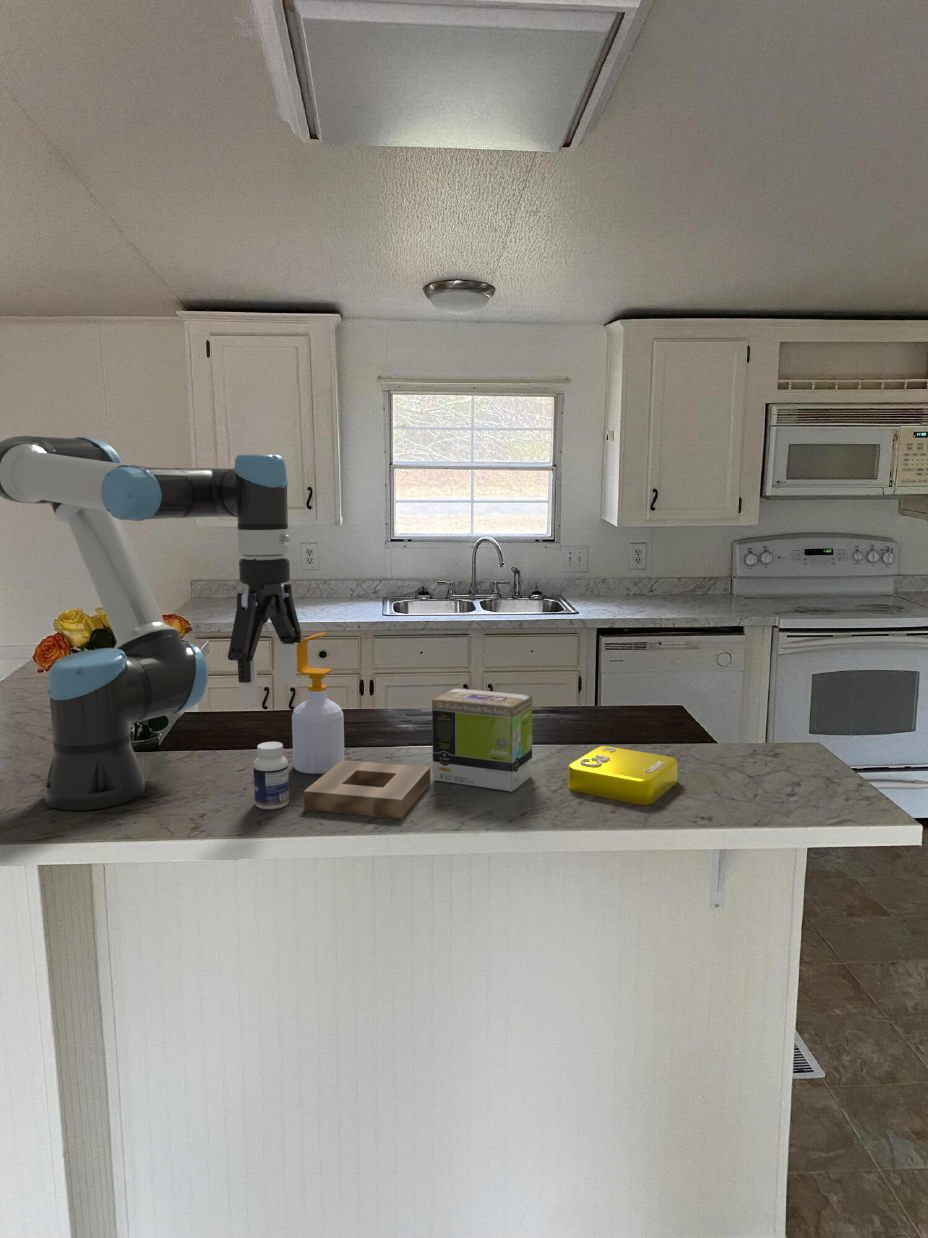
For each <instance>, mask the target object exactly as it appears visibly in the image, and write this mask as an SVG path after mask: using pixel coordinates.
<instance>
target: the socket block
mask: <svg viewBox="0 0 928 1238" xmlns="http://www.w3.org/2000/svg"><path fill="white" fill-rule="evenodd" d="M430 785H431V766H420V765H409V764H395V763H387V762H386V763H385V762H384V763H382V762H373V761H372V762H371V761H358V760H345V759H344V760H341V761H340V762H339V763H338V764H336V765H335V766H334V767H333V768H331V769H330V770H329V771H328V772H327V773H325V774H322V776H320V777H319V778H318V779H317V780H315V781H314V782H313V783H312V784H310V785H309V786H308V787H307V788H305V790H303V798H304V799H303V802H304V803H303V804H304V810H306V811H307V810H308V811H319V812H328V813H341V814H348V815H349V814H350V815H359V816H372V817H383V818H393V819H403V818H404V816H406V814H407V813H408V812H409V810H410V809H411V808H412V807H413V806H414V804H416V802H417V801H418V800H419V798H421V796H422V795H423V793H424V792H425V791H426V790H427V789H428V787H429V786H430Z"/></svg>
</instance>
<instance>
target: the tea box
mask: <svg viewBox="0 0 928 1238" xmlns="http://www.w3.org/2000/svg"><path fill="white" fill-rule="evenodd" d="M431 713H432V714H431V718H432V719H431V721H432V722H431V726H432V729H431V730H432V734H431V735H432V741H431V742H432V774H433V775H432V779H433V781H438V782H444V783H452V784H457V785H464V786H465V785H466V786H473V787H479V788H487V789H490V790H499V791H505V792H511V793H513V792H514V791H515V790H516V789H518V788H519V787H520V786H521V785H523V784H524V783H525V782H526V781H527V780H528V779H530V778H531V777H532V774H533V773H532V772H533V695H532V694H526V693H514V692H513V693H512V692H503V691H502V692H501V691H493V690H490V691H489V690H482V689H481V690H480V689H467V688H460V687H458V688H457V687H456V688H453V689H452V690H449V691H447V692H445V693H442V694H440V695H438V696H436V697H434V698H432V700H431Z"/></svg>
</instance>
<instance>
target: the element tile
mask: <svg viewBox="0 0 928 1238" xmlns="http://www.w3.org/2000/svg"><path fill="white" fill-rule="evenodd" d="M677 779H678V760H677V759H676V758H675V757H672V756H667V755H663V754H662V755H661V754H655V753H649V752H643V751H640V750H639V751H638V750H632V749H626V748H622V747H621V748H620V747H614V746H610V745H609V746H608V745H601V746H598V747H596V748H594V749H593V750H591V751H589V752H587V753H585V754H584V755H582V756H580V757H579V758H577V759H576V760H574V761H573V762H571V763H569V764H568V767H567V788H568V789H569V790H570V791H573V792H577V793H582V794H586V795H591V796H597V797H601V798H606V799H611V800H615V801H621V802H625V803H630V804H635V805H643V806H644V805H645V806H646V805H650V804H653V803H655V802H656V801H657V800H658V799H660V797H662V796H663V795H664V794H665V793H667V792H668V791H669V790H670V789H671V788H672V787H673V786H675V785H676V784H677V781H678V780H677Z"/></svg>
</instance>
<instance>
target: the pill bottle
mask: <svg viewBox="0 0 928 1238" xmlns="http://www.w3.org/2000/svg"><path fill="white" fill-rule="evenodd" d="M256 748H257V749H256V751H257V756H258V757H257V758H256V759H255V760H254V761H253V765H252V766H253V787H254V789H253V790H254V805H255V806H256V807H258V808H259V809H262V810H276V809H281V808H283V807H285V806H288V805H289V802H290V787H289V786H290V784H289V783H290V781H289V760H288V758H287V757H286V756H284V755H283V754H284V745H283V743H282V742H279V741H266V742H261V743H259V744H258V745H257V747H256Z"/></svg>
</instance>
